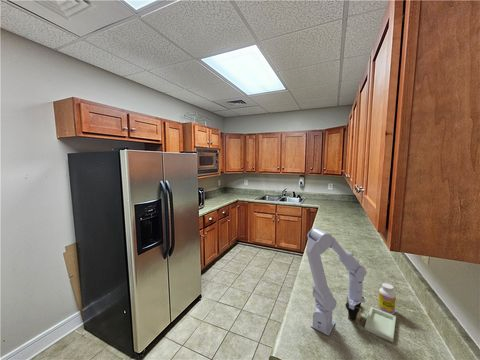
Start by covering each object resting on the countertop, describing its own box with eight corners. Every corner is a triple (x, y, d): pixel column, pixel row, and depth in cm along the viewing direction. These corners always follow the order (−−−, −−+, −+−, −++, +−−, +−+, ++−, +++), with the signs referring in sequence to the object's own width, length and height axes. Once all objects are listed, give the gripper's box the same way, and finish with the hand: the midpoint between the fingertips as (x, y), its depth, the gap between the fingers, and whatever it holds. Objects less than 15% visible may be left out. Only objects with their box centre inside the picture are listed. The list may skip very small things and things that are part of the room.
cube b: (356, 308, 103) (356, 300, 102) (346, 304, 106) (346, 296, 105) (358, 304, 106) (358, 295, 106) (348, 300, 109) (348, 292, 109)
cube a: (358, 323, 93) (359, 314, 93) (347, 318, 96) (348, 309, 96) (360, 317, 96) (361, 308, 96) (350, 313, 99) (350, 304, 99)
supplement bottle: (380, 313, 99) (381, 288, 98) (376, 304, 105) (377, 280, 104) (397, 316, 97) (398, 291, 96) (392, 307, 103) (393, 283, 102)
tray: (393, 343, 83) (393, 338, 83) (364, 330, 89) (364, 326, 89) (395, 320, 95) (396, 316, 95) (370, 310, 101) (370, 306, 101)
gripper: (362, 299, 87) (361, 329, 88) (368, 284, 98) (367, 310, 99) (344, 292, 92) (343, 321, 93) (351, 278, 103) (351, 304, 104)
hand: (354, 315), depth 96 cm, fingers open, 7 cm apart
